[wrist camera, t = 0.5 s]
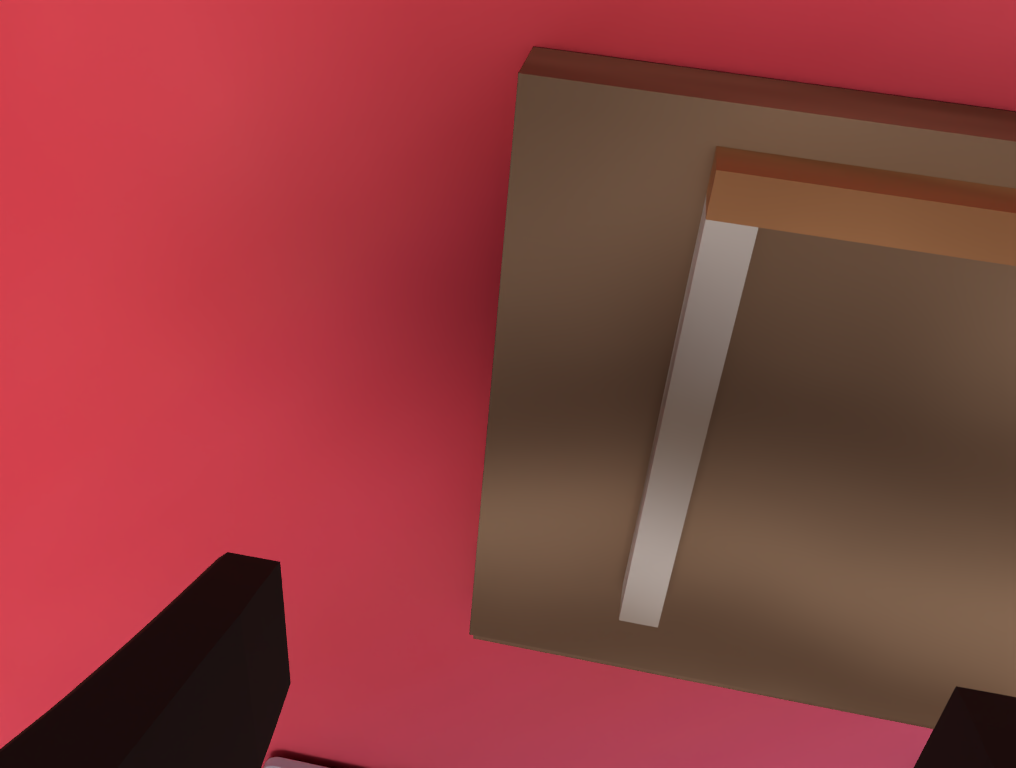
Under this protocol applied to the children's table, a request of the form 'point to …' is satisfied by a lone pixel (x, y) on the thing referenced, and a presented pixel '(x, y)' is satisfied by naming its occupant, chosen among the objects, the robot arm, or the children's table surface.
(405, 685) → the children's table surface
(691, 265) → the dock
